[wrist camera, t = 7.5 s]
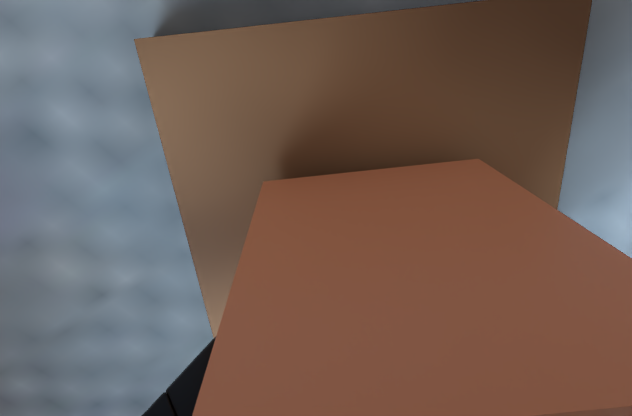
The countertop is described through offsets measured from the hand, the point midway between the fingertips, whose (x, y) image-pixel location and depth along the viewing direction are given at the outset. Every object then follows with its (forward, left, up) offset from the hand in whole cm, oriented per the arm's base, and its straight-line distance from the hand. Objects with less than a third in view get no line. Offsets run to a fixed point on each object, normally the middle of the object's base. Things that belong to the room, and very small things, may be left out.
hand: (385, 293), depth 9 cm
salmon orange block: (0, 0, -1) cm, 1 cm away
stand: (0, 0, -3) cm, 3 cm away
